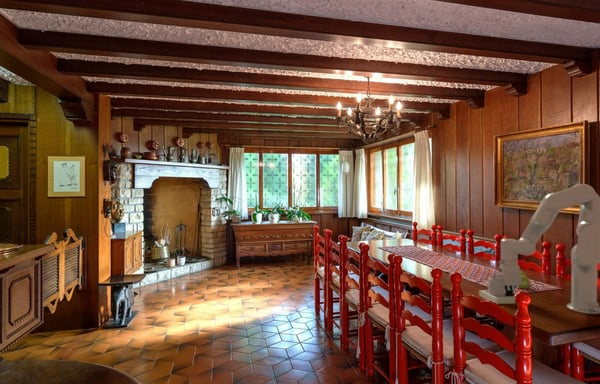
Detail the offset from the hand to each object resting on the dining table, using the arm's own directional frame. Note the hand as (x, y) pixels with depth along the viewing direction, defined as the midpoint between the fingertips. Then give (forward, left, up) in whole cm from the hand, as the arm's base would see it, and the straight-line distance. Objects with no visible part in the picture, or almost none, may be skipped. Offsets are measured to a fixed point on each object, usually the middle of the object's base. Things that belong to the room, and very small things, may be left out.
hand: (509, 297), depth 184 cm
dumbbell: (+25, -25, -1) cm, 35 cm away
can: (0, +7, -1) cm, 7 cm away
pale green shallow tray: (0, +7, -1) cm, 7 cm away
